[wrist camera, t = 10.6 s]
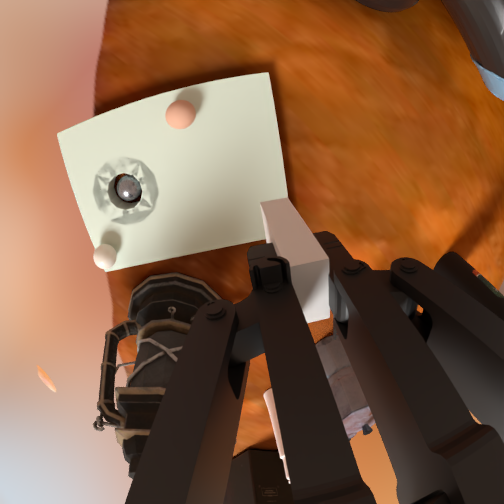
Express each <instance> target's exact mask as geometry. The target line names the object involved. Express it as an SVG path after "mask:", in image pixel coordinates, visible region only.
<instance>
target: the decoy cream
mask: <svg viewBox="0 0 504 504" xmlns="http://www.w3.org/2000/svg"><path fill="white" fill-rule="evenodd" d="M93 256H94V257H93V258H94V262H95V264H96V265H97V266H98V267H100V268H102V269H109V268H111V267H112V266H113V265H114V264H115V262H116V259H117V254H116V251H115V249H114V248H113V247H112V246H111V245H108V244H102V245H100V246H98V247H97V248H96V249H95V252H94V255H93Z"/></svg>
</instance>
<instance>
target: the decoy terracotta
mask: <svg viewBox="0 0 504 504" xmlns="http://www.w3.org/2000/svg"><path fill="white" fill-rule="evenodd" d="M165 117H166V121H167V123H168V124H169V125H170V126H171V127H173V128H175V129H184V128H187V127H189V126H190V125H191V124H192V123H193V122H194V120H195V117H196V110H195V108H194V106H193V105H192V104H191V103H190V102H188V101H186V100H177V101H175V102H173V103H171V104H170V105H169V106H168V108H167V110H166V114H165Z"/></svg>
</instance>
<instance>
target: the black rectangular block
mask: <svg viewBox="0 0 504 504" xmlns="http://www.w3.org/2000/svg"><path fill="white" fill-rule="evenodd" d="M223 504H294V500H293V494H292V489H291V484H289V480H288V479H287V478H286V473H285V468H284V463H283V459H281V458H280V455H279V452H273V451H260V450H253V449H251V450H247V451H246V452H244V453H242V454H241V455H239V456H238V457H236V458H234V459H233V460H232V462H231V467H230V472H229V477H228V482H227V487H226V492H225V497H224V502H223Z"/></svg>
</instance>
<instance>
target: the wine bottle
mask: <svg viewBox="0 0 504 504" xmlns="http://www.w3.org/2000/svg"><path fill="white" fill-rule="evenodd" d="M433 271H435V272H436V273H438V274H439V275H441V276H442V277H444V278H445V279H447V280H448V281H450V282H451V283H453V284H454V285H456V286H457V287H458V288H460V289H461V290H463V291H464V292H465V293H467V294H468V295H470V296H471V297H472V298H474V299H475V300H477V301H478V302H479V303H481V304H482V305H483V306H485V307H486V308H487V309H489V310H490V311H491V312H493V313H494V314H495V315H496V316H498V317H499V318H500V319H502V320H503V321H504V296H503V295H502V294H501V293H500V292H499V291H498V290H497V289H496V288H495V287H494V286H493V285H492V284H491V283H490V282H489V281H487V280H486V279H485V278H484V277H483V276H482V275H481V274H480V273H479V272H478V271H477V270H475V269H474V268H473V267H472V266H471V265H470V264H469V263H467V262H466V261H465V260H464V259H463V258H462V257H460V256H459V255H458V254H457V253H455V252H449V253H447V254H445V255H444V256H443V257H442V258H441V259H440V260H439V261H438V262H437V264H436V266H435V268H434V270H433Z"/></svg>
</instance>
